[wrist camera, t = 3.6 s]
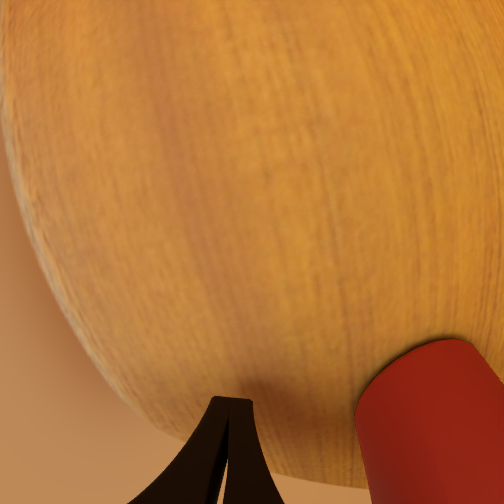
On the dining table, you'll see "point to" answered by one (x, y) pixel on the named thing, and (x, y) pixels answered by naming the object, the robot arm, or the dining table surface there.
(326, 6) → the dining table surface
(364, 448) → the beer can
